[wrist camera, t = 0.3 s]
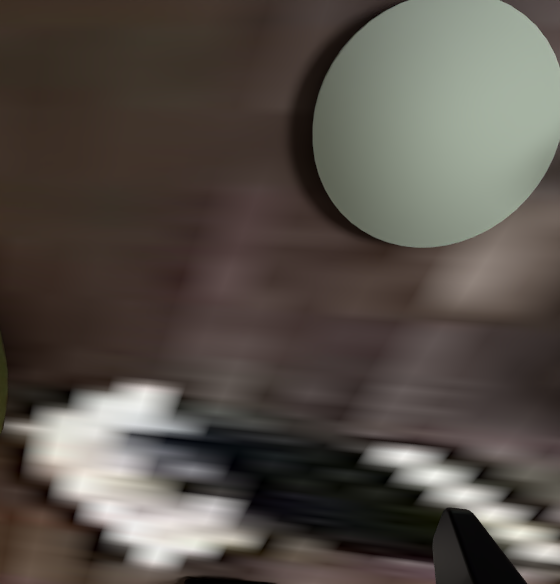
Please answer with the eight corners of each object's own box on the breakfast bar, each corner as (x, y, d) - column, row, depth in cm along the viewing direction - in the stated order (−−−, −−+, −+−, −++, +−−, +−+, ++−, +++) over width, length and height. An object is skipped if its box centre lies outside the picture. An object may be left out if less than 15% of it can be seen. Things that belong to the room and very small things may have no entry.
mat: (519, 243, 21) (528, 252, 20) (306, 233, 22) (306, 241, 21) (584, -3, 17) (599, -5, 16) (320, -10, 17) (320, -13, 17)
